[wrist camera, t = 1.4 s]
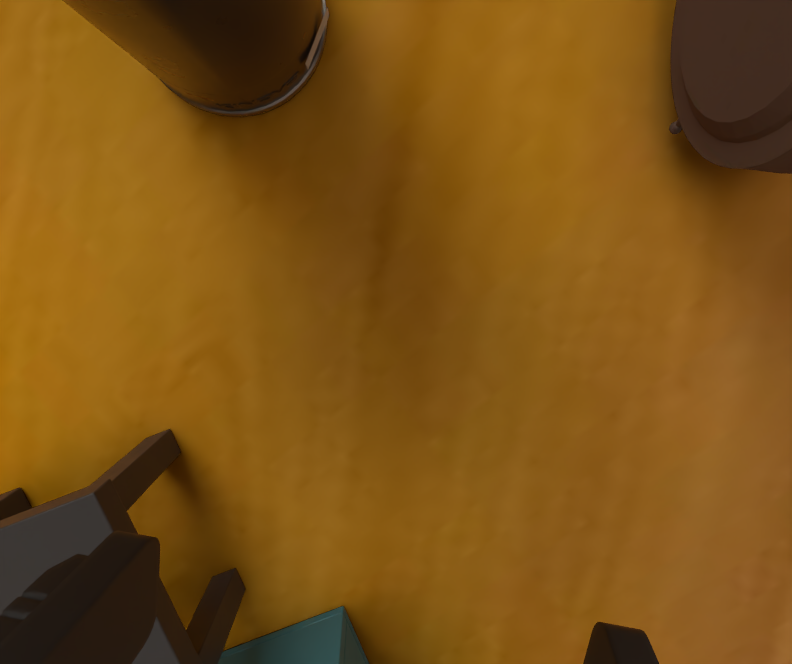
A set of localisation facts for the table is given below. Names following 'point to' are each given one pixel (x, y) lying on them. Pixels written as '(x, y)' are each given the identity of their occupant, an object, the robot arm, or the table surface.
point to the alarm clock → (734, 81)
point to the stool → (88, 527)
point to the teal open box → (304, 644)
